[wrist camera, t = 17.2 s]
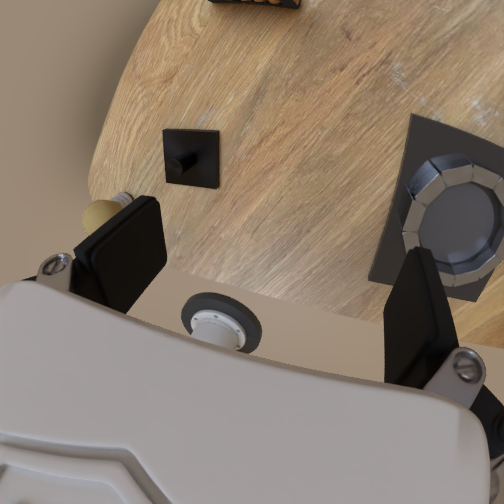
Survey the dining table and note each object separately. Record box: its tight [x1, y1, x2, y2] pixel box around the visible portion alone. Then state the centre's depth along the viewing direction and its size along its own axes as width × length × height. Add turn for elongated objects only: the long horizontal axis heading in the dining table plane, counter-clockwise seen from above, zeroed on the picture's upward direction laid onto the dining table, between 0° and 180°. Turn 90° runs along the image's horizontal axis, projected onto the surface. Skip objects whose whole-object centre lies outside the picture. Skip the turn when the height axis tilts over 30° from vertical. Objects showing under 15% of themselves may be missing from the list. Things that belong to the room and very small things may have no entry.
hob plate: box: [368, 113, 504, 302], centre depth 31 cm, size 24×20×1 cm
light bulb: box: [82, 192, 132, 236], centre depth 42 cm, size 6×6×10 cm
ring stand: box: [162, 129, 219, 189], centre depth 36 cm, size 8×8×5 cm
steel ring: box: [400, 158, 504, 287], centre depth 29 cm, size 17×17×3 cm
